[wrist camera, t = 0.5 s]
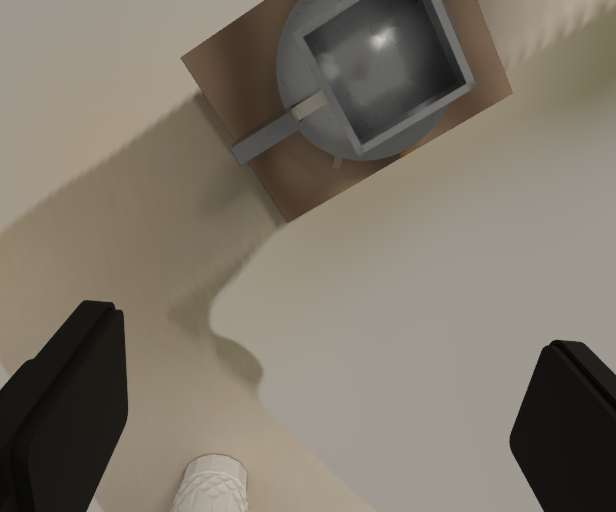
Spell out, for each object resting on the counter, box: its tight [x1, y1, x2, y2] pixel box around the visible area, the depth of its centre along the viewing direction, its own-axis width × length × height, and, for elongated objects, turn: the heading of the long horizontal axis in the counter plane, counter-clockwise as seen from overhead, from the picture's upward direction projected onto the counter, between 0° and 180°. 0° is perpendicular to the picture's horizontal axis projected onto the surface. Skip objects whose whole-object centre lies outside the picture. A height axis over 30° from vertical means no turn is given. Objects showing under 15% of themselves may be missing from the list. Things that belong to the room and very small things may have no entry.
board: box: [181, 0, 513, 223], centre depth 33 cm, size 19×14×1 cm
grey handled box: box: [230, 0, 477, 165], centre depth 30 cm, size 16×12×5 cm
